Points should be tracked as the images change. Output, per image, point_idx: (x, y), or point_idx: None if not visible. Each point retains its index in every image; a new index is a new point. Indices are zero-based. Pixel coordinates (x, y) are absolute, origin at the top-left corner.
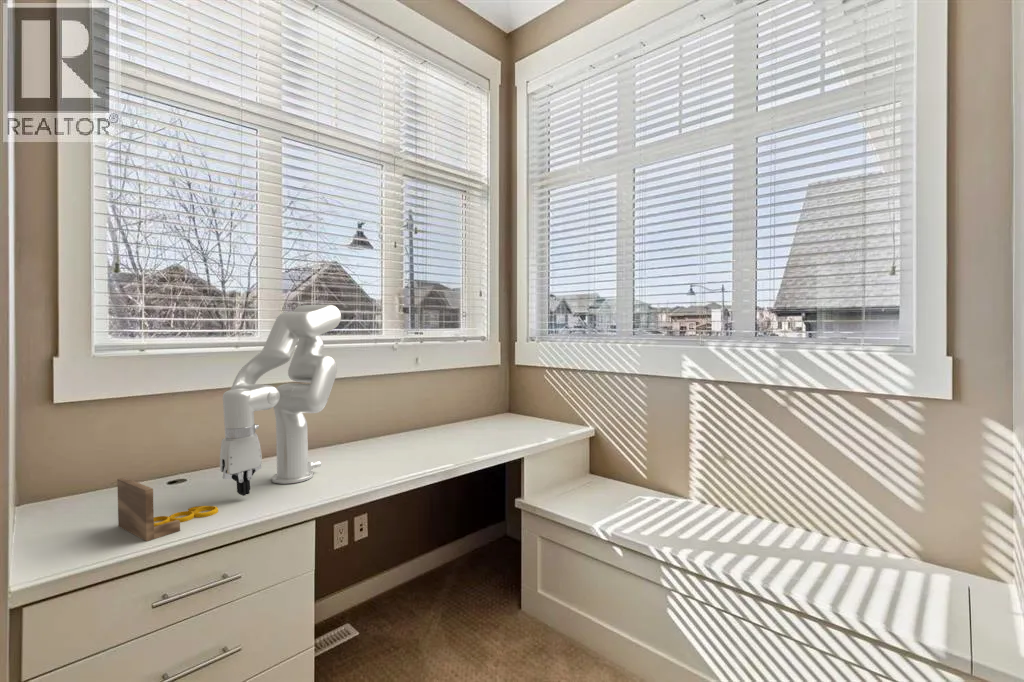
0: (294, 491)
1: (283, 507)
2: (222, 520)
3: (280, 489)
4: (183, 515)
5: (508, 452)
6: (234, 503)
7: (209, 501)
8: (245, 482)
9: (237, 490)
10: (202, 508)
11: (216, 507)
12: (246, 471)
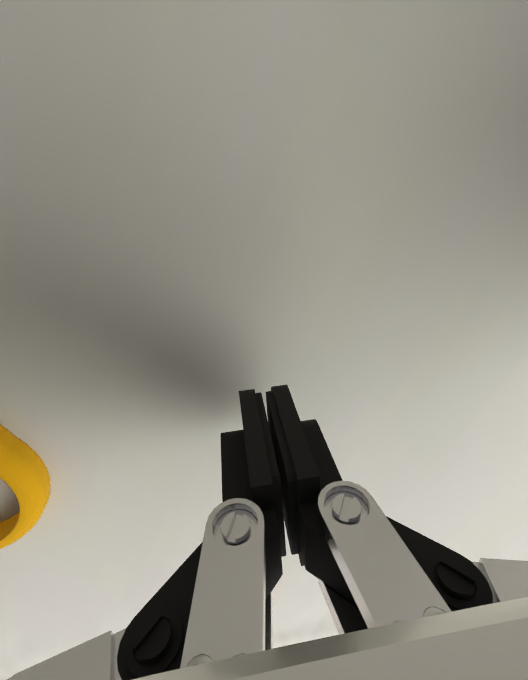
0: (497, 449)
1: (319, 602)
2: (45, 617)
3: (501, 361)
4: None
5: None
6: (181, 421)
7: (23, 216)
8: (284, 555)
9: (222, 445)
10: None
11: (28, 510)
12: (396, 589)
